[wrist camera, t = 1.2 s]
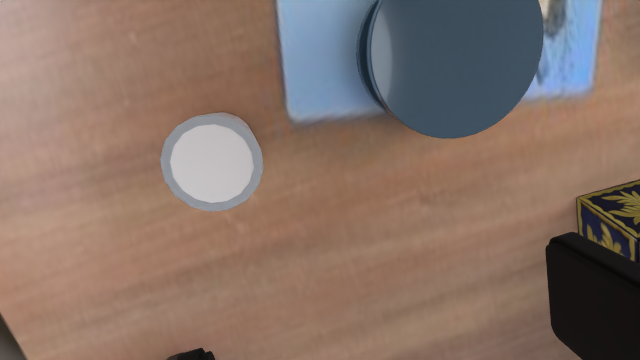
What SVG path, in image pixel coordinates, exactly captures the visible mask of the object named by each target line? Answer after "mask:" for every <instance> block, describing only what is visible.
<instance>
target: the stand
mask: <svg viewBox="0 0 640 360" xmlns="http://www.w3.org/2000/svg"><path fill="white" fill-rule="evenodd" d="M542 46H543V18H542V13H541V7H540V4H539V1H538V0H375V1H374V2H373V4H372V5H371V6H370V8H369V10H368V12H367V13H366V15H365V17H364V20H363V22H362V24H361V27H360V31H359V34H358V40H357V52H356V56H357V66H358V71H359V75H360V78H361V80H362V83H363V85H364V87H365V89H366V91H367V92H368V94H369V95H370V97H371V98H372V99H373V100H374V102H375V103H376V104H377V105H378V106H380V107H381V108H382V109H383V110H384V111H386V112H388V113H389V114H391V115H392V116H393V117H394V118H395V119H396V120H398V121H399V122H400V123H401V124H403V125H405V126H406V127H408V128H409V129H412V130H414V131H416V132H419V133H421V134H424V135H427V136H431V137H436V138H443V139H444V138H460V137H466V136H469V135H473V134H476V133H478V132H481V131H483V130H485V129H487V128H489V127H491V126H492V125H494V124H496V123H497V122H498V121H500V120H501V119H502V118H504V117H505V116H506V115H507V114H508V113H509V112H510V111H511V110H512V109H513V108H514V107H515V106H516V105H517V104H518V102H519V101H520V100H521V99H522V97H523V96H524V94H525V93H526V91H527V90H528V88H529V86H530V84H531V82H532V80H533V78H534V75H535V73H536V70H537V68H538V64H539V61H540V57H541V52H542Z"/></svg>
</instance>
